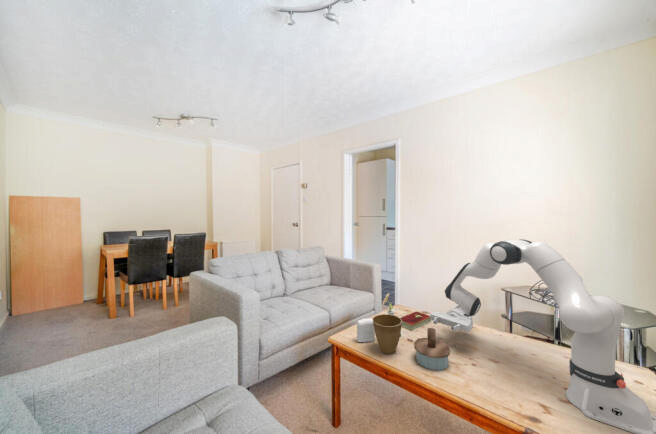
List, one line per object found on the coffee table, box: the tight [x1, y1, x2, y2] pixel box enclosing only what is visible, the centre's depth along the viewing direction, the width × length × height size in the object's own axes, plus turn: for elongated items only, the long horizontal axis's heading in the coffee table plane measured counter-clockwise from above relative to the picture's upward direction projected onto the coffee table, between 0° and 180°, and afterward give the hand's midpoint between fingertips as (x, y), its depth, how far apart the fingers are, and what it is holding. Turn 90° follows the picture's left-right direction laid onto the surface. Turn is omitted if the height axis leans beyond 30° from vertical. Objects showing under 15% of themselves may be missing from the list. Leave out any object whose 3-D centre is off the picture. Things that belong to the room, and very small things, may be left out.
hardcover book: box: [399, 311, 432, 332], centre depth 162 cm, size 12×21×4 cm, turn 127°
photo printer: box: [356, 318, 376, 343], centre depth 141 cm, size 10×4×12 cm, turn 103°
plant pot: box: [372, 313, 402, 355], centre depth 131 cm, size 15×15×16 cm
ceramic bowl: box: [415, 350, 449, 371], centre depth 120 cm, size 14×14×6 cm
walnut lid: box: [413, 327, 451, 358], centre depth 120 cm, size 16×16×9 cm
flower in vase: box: [382, 293, 402, 335], centre depth 147 cm, size 13×11×25 cm
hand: (443, 325), depth 128 cm, fingers open, 8 cm apart
